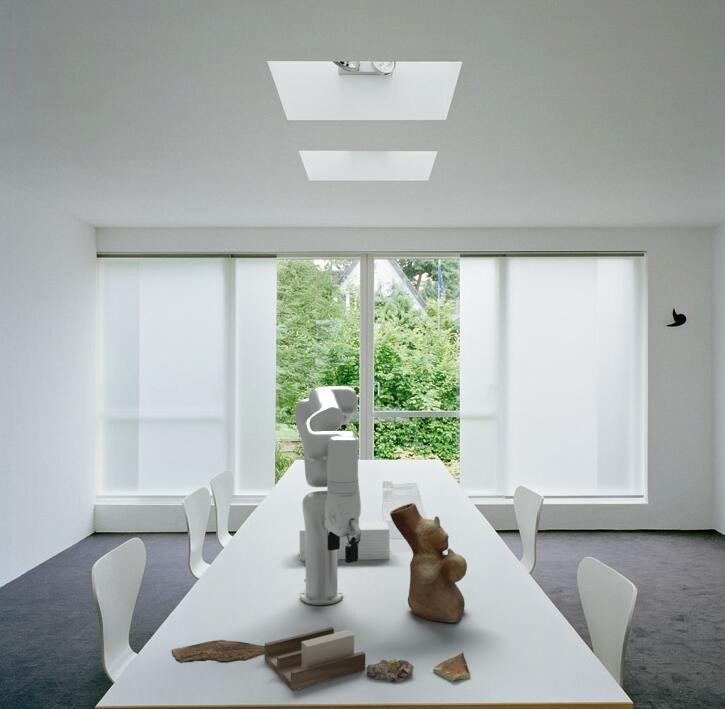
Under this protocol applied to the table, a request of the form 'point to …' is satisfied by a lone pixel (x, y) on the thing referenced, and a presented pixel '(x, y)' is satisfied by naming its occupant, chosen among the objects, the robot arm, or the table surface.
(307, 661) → the strip
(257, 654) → the wooden fragment
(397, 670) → the mineral rock
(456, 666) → the shard
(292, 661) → the walnut rack
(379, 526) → the white long block
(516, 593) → the table surface
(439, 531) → the ceramic vessel
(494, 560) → the table surface
